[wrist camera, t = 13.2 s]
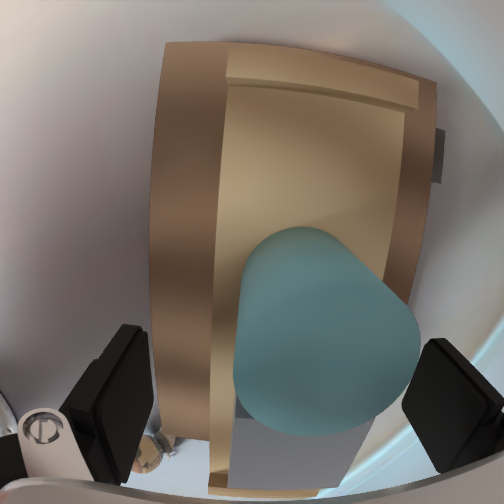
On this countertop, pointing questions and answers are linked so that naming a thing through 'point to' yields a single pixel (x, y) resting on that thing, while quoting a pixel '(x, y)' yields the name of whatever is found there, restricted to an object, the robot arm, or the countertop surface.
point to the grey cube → (288, 455)
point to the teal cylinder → (318, 336)
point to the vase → (152, 452)
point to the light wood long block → (298, 187)
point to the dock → (206, 207)
